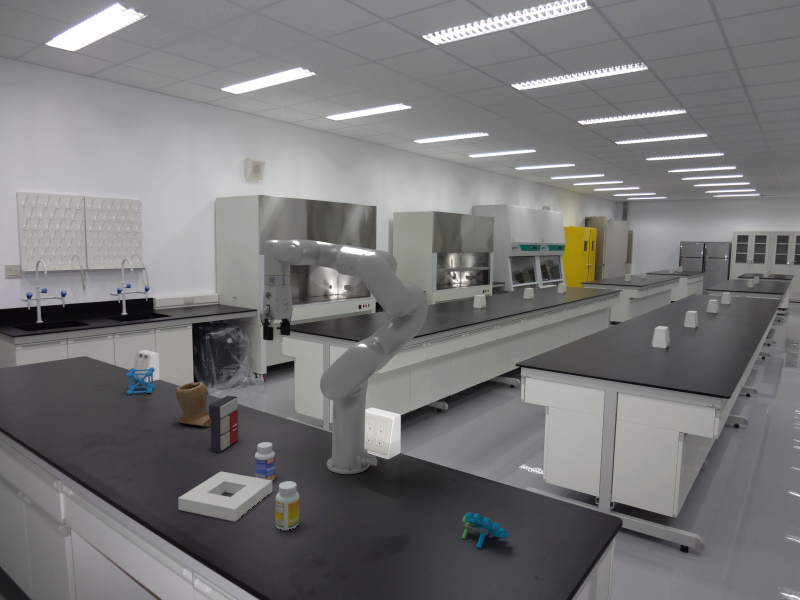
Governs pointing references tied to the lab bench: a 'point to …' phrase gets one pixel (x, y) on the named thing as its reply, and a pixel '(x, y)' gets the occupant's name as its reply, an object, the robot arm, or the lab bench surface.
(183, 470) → the lab bench surface
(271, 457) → the pill bottle
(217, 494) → the white square frame
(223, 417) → the calculator
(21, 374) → the lab bench surface
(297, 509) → the supplement bottle
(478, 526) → the blue plastic legged piece
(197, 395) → the tan hollow piece
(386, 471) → the lab bench surface
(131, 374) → the molecular structure
